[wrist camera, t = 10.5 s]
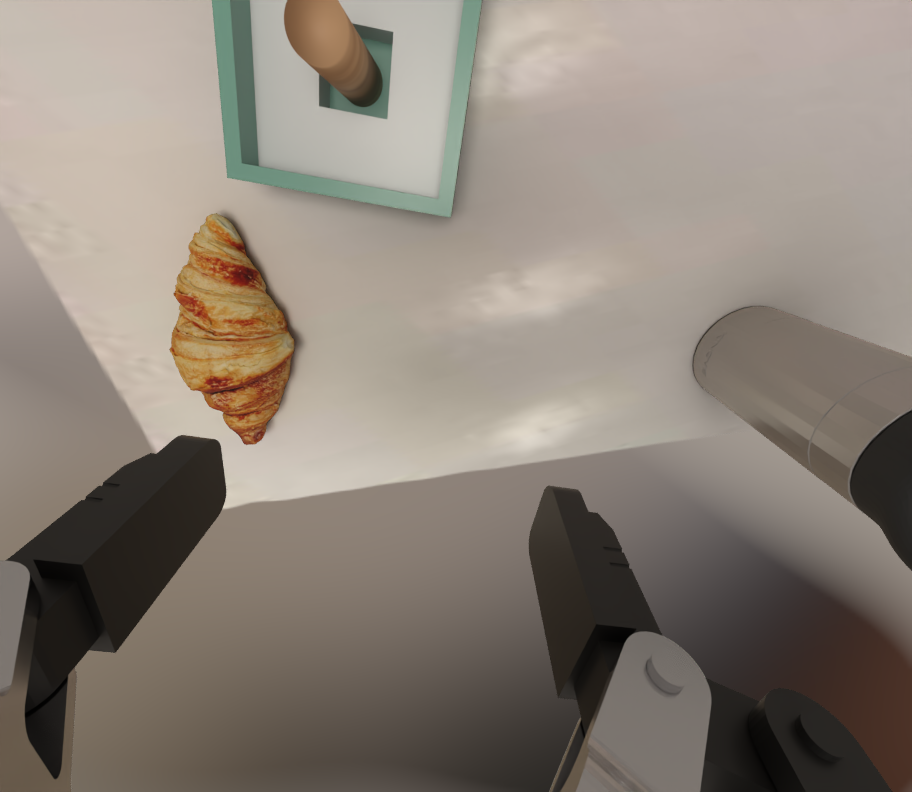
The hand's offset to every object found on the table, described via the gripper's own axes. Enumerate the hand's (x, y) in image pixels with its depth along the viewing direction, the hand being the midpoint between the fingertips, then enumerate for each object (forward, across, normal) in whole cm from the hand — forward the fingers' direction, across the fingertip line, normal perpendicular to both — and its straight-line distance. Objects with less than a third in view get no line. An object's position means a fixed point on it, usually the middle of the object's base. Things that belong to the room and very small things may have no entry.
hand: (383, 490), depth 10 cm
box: (+28, +7, -13) cm, 32 cm away
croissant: (+28, +17, +8) cm, 34 cm away
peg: (+27, +7, -13) cm, 31 cm away
